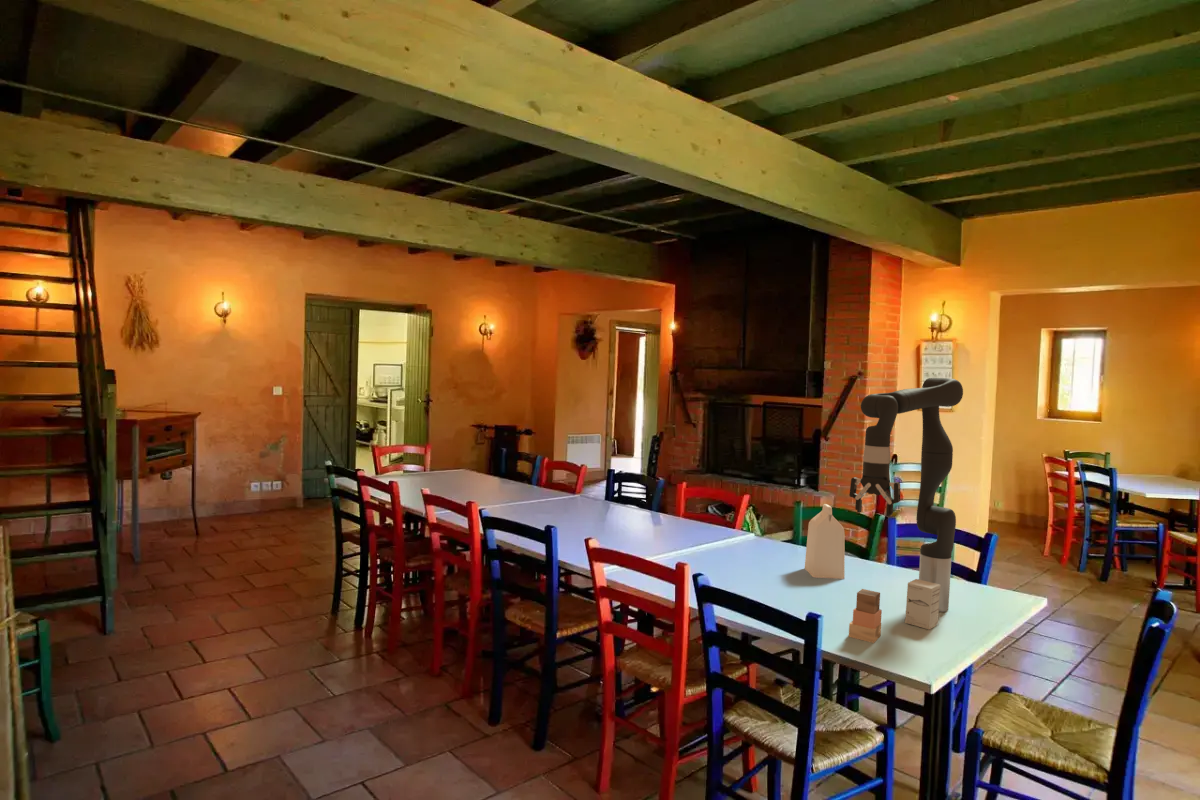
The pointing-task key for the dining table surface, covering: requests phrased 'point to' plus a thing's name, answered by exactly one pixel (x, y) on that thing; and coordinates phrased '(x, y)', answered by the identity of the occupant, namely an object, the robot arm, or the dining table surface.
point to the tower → (867, 618)
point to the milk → (825, 546)
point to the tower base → (864, 632)
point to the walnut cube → (868, 601)
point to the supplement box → (922, 604)
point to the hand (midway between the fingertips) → (873, 514)
